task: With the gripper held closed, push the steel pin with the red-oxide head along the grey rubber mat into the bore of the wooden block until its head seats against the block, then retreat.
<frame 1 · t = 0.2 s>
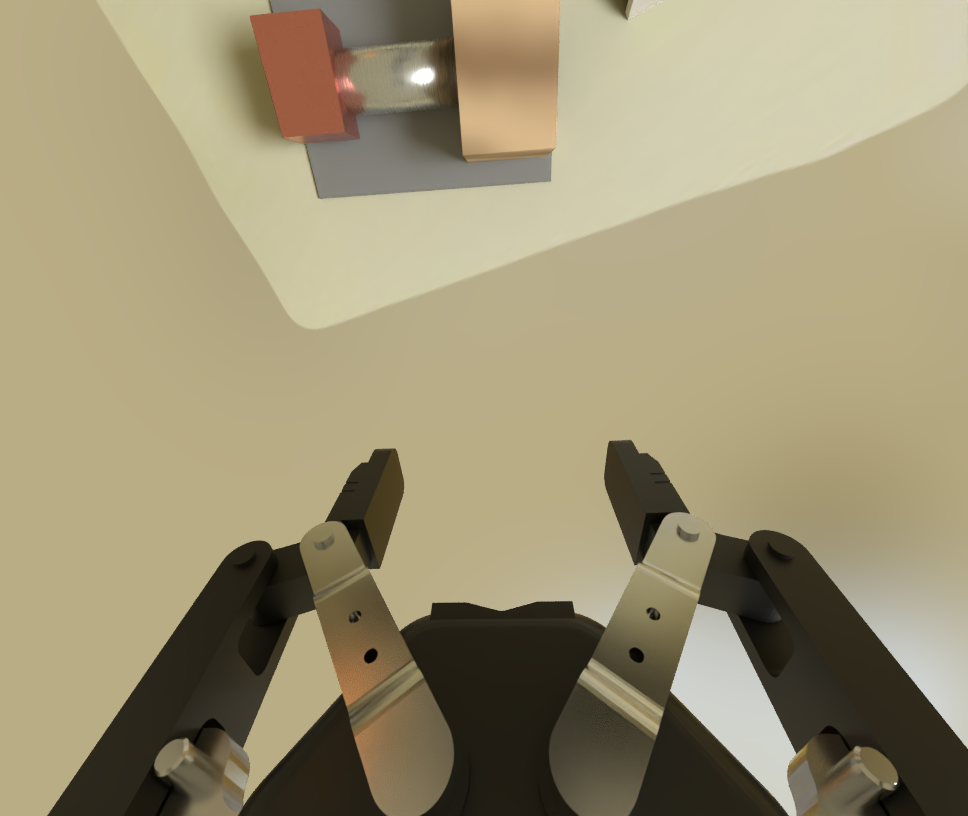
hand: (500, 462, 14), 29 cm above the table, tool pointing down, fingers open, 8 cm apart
mat: (421, 86, 30), on the table
pin: (376, 80, 28), point 3 cm above the table, slide at 0.0 cm
wooden block: (504, 78, 30), resting on mat
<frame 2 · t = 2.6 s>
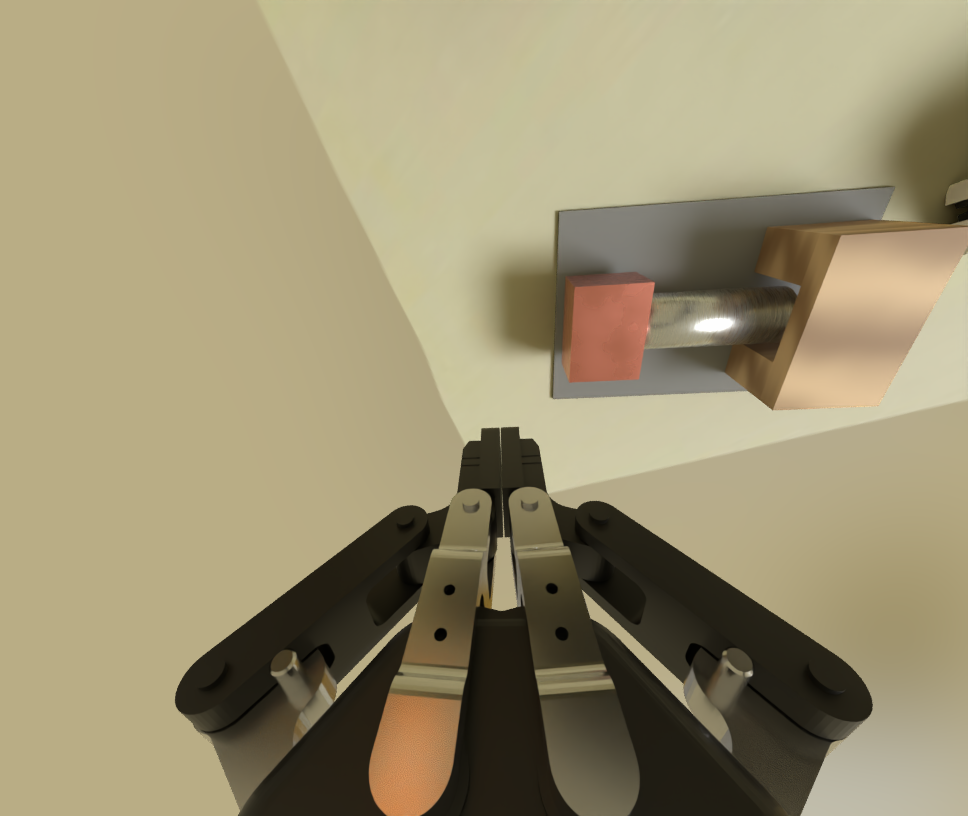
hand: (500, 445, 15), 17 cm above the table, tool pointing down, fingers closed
mat: (696, 309, 29), on the table
pin: (671, 321, 26), point 3 cm above the table, slide at 0.0 cm
wooden block: (790, 304, 28), resting on mat
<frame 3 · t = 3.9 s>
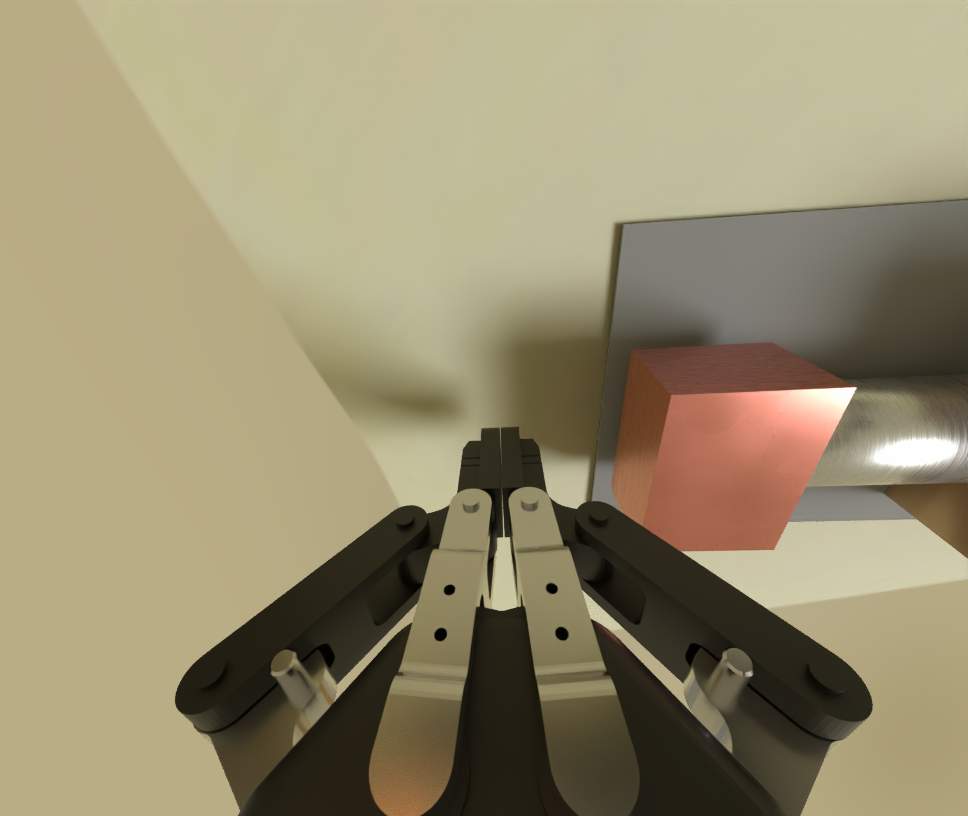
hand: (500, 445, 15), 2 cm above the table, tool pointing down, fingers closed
mat: (857, 397, 16), on the table
pin: (835, 436, 14), point 3 cm above the table, slide at 0.0 cm
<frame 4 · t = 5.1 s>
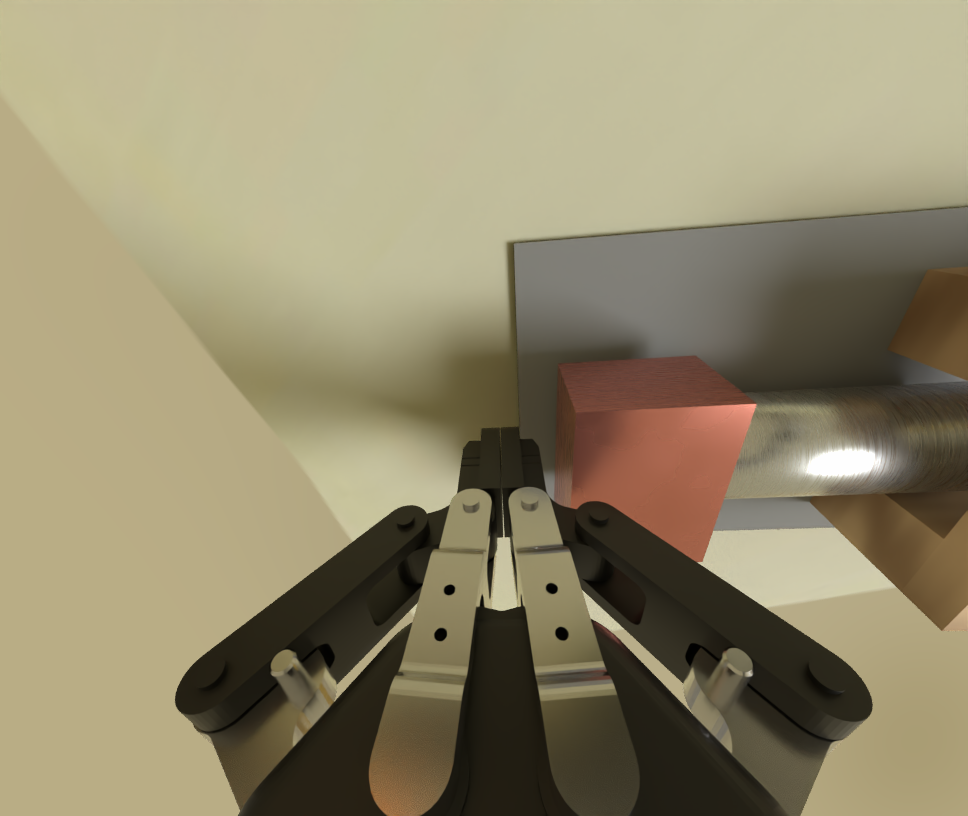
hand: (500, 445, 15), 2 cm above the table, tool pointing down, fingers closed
mat: (769, 408, 16), on the table
pin: (762, 448, 14), point 3 cm above the table, slide at 1.1 cm, touching gripper
wooden block: (945, 402, 15), resting on mat
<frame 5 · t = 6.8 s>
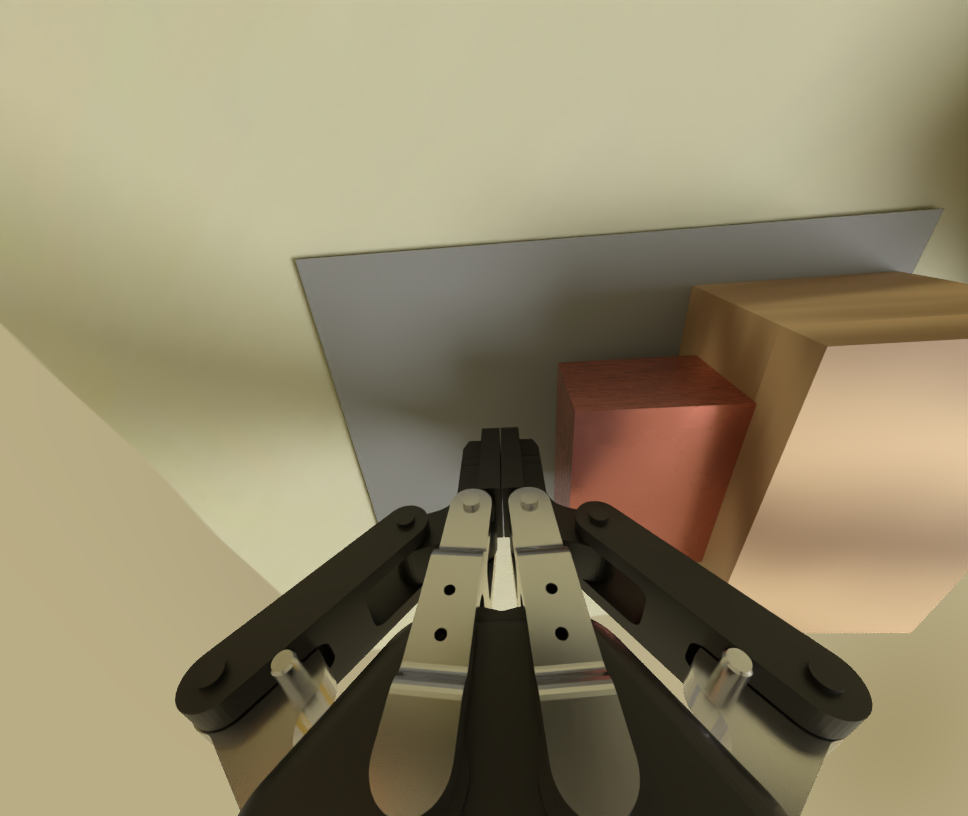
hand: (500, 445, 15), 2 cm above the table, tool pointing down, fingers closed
mat: (584, 416, 16), on the table
pin: (763, 448, 14), point 3 cm above the table, slide at 9.1 cm, touching wooden block, gripper
wooden block: (748, 412, 16), resting on mat
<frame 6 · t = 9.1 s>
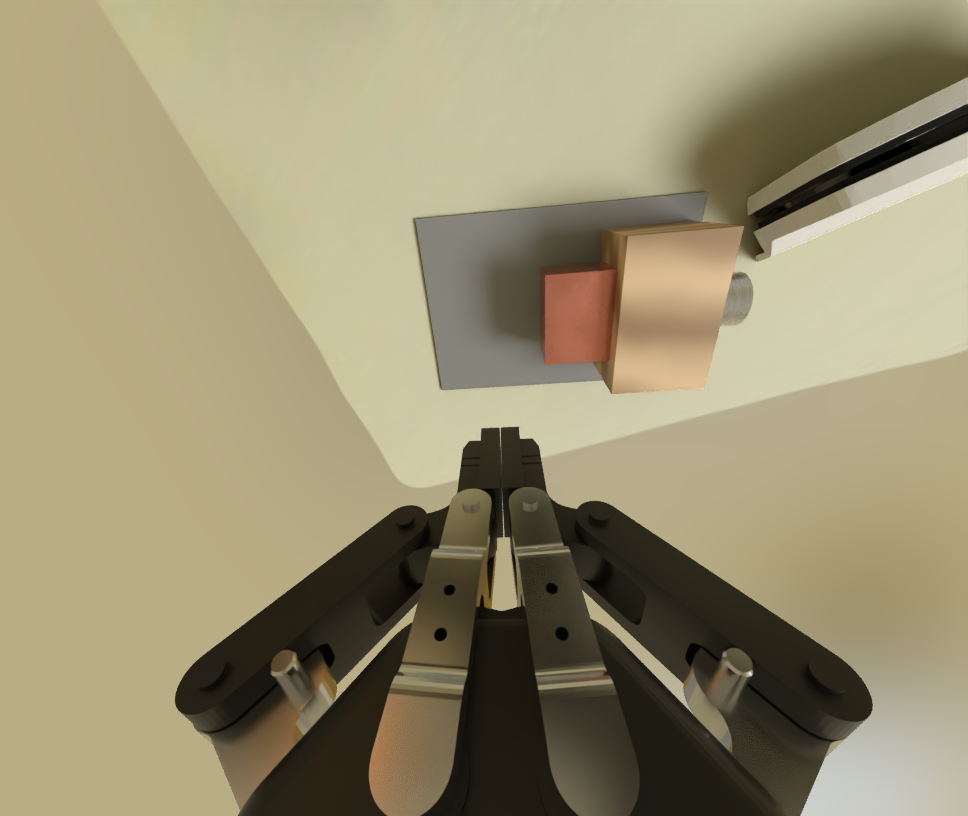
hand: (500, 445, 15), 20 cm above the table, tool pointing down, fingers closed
white rounded piece: (867, 157, 26), on the table
mat: (555, 304, 31), on the table
pin: (638, 307, 28), point 3 cm above the table, slide at 9.1 cm, touching wooden block
wooden block: (639, 298, 31), resting on mat
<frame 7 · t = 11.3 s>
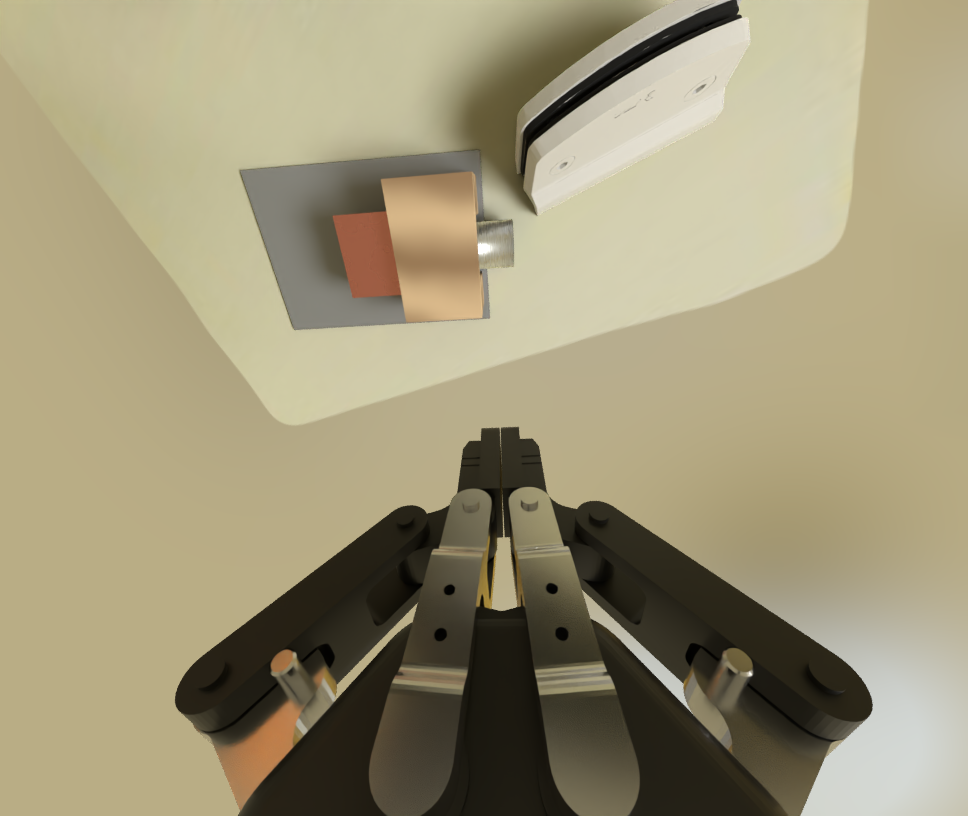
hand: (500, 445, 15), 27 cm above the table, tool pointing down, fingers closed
white rounded piece: (606, 123, 31), on the table
mat: (376, 250, 36), on the table
pin: (431, 249, 34), point 3 cm above the table, slide at 9.1 cm, touching wooden block
wooden block: (445, 245, 36), resting on mat
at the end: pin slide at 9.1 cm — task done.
